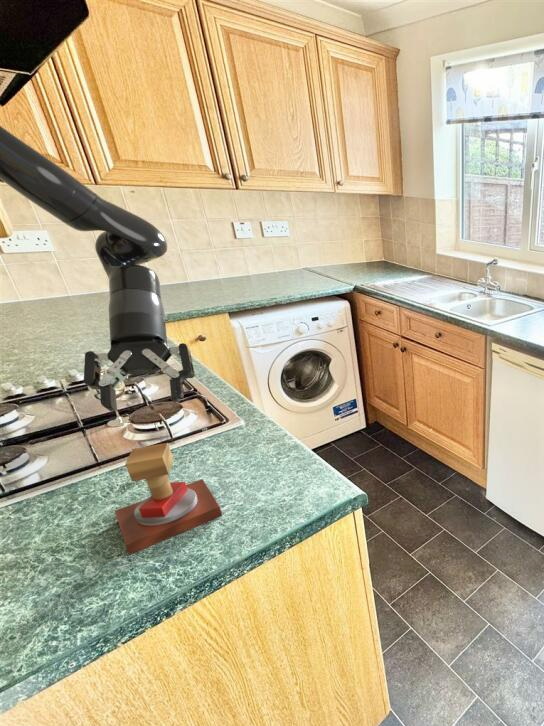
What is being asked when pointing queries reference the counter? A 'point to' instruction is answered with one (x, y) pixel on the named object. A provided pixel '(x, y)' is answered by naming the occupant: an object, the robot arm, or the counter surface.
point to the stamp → (159, 486)
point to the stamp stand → (147, 536)
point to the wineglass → (119, 392)
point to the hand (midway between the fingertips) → (144, 405)
